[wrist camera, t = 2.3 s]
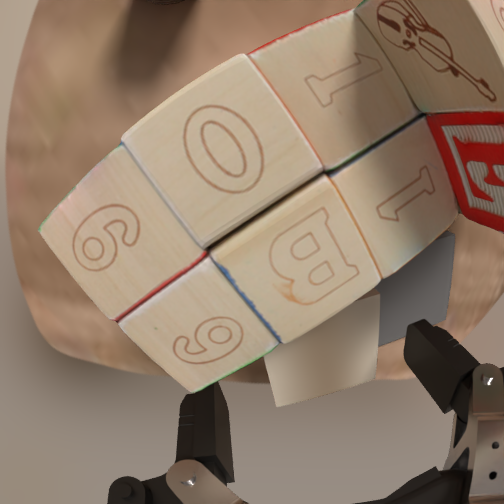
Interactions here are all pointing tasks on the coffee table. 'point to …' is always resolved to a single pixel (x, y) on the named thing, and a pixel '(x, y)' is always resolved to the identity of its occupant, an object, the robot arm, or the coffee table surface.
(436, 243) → the charcoal pad
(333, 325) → the cream block
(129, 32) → the coffee table surface
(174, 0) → the grey capsule
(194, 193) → the stack of blocks
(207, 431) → the robot arm
